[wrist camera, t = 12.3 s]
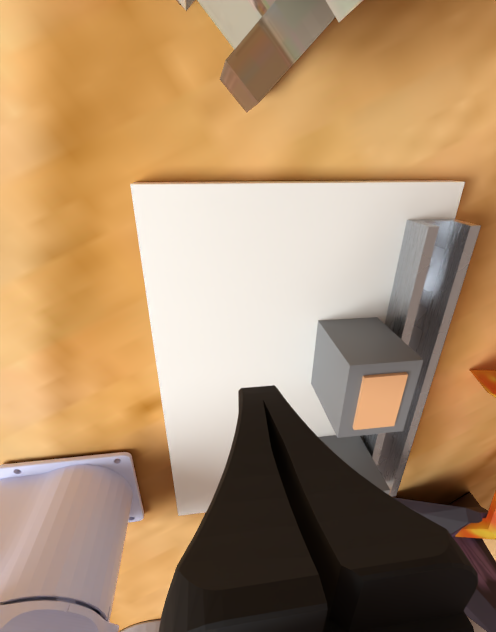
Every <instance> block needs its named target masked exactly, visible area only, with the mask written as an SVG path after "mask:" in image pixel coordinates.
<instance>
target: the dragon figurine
mask: <svg viewBox="0 0 496 632" xmlns="http://www.w3.org/2000/svg"><path fill="white" fill-rule="evenodd" d="M470 371H471V372H472V374H473V375H474V376H475V377H476V379H477V380H478V381H479V382H480V384H481V385H482V386H483V387H484V388H485V390H486V391H487V392H488V393H490V394H491V395H492V396H494V397H495V398H496V370H470ZM393 498H394V497H393ZM394 499H396V500H397V501H399V502H401V503H402V504H404V505H405V506H407V507H409V508H410V509H412V510H414V511H415V512H417V513H419V514H421V515H422V516H424V517H426V518H428V519H429V520H431V521H433V522H435V523H437V524H438V525H440V526H442V527H444V528H445V529H447V530H448V532H449V533H450V535H451V536H452V537H453V538H454V540H455V541H456V542H457V543H458V545H459V546H460V547H461V549H462V550H463V552H464V553H465V555H466V556H467V558H468V559H469V561H470V562H471V564H472V565H473V567H474V569H475V570H476V572H477V573H478V585H477V587H476V590H475V592H474V594H473V596H472V597H471V599H470V601H469V602H468V604H467V606H466V607H465V609H464V612H465V614H466V616H468V617H469V618H470V619H471V620H473V621H474V622H475V623H477V624H478V625H479V626H481V627H482V628H483V629H485V630H486V631H487V632H496V561H495V560H494V558H493V556H492V555H491V553H490V551H489V550H488V548H487V546H486V545H485V543H484V541H483V540H482V539H496V491H495V494H494V497H493V500H492V502H491V505H490V508H489V511H487V510H486V509H484V508H482V507H481V506H480V505H479V503H478V502H477V501H476V499H475V498H474V497H473V495H472V494H471V493H470V492H469V493H467V494H465V495H464V496H462V497H460V498H459V499H457V500H456V501H454V502H452V503H451V504H449V505H443V504H436V503H429V502H422V501H415V500H408V499H401V498H394Z"/></svg>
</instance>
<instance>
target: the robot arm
mask: <svg viewBox="0 0 496 632" xmlns="http://www.w3.org/2000/svg"><path fill="white" fill-rule="evenodd" d="M238 406H239V413H238V420H237V425H236V430H235V435H234V439H233V442H232V446H231V450H230V453H229V456H228V460H227V463H226V466H225V468H224V471H223V474H222V477H221V479H220V482H219V484H218V487H217V489H216V492H215V494H214V496H213V499H212V501H211V503H210V505H209V507H208V509H207V511H206V513H205V516H204V518H203V520H202V522H201V524H200V526H199V528H198V530H197V532H196V533H195V535H194V537H193V539H192V541H191V543H190V544H189V546H188V548H187V549H186V551H185V553H184V555H183V556H182V558H181V560H180V562H179V563H178V565H177V567H176V570H175V573H174V576H173V579H172V582H171V585H170V588H169V591H168V595H167V598H166V601H165V605H164V608H163V612H162V616H161V621H160V627H159V632H474V629H473V626H472V625H471V623H470V621H469V619H468V618H467V616H466V614H465V612H464V609H465V607H466V606H467V604H468V602H469V601H470V599H471V597H472V596H473V594H474V592H475V590H476V587H477V585H478V573H477V572H476V570H475V569H474V567H473V565H472V564H471V562H470V561H469V559H468V558H467V556H466V555H465V553H464V552H463V550H462V549H461V547H460V546H459V545H458V543H457V542H456V541H455V540H454V538H453V537H452V536H451V535H450V533H449V532H448V530H447V529H445V528H444V527H442V526H440V525H438V524H437V523H435V522H433V521H431V520H429V519H428V518H426V517H424V516H422V515H421V514H419V513H417V512H415V511H414V510H412V509H410V508H409V507H407V506H405V505H404V504H402V503H401V502H399V501H397V500H396V499H394V498H393V497H391V496H390V495H388V494H387V493H385V492H384V491H382V490H381V489H380V488H378V487H377V486H375V485H374V484H373V483H371V482H370V481H369V480H367V479H366V478H364V477H363V476H362V475H360V474H359V473H358V472H356V471H355V470H354V469H353V468H352V467H350V466H349V465H348V464H347V463H346V462H344V461H343V460H342V459H341V458H340V457H339V456H337V455H336V454H335V453H334V452H333V451H332V450H331V449H330V448H329V447H328V446H327V445H326V444H325V443H324V442H323V441H322V440H321V439H320V438H319V437H318V436H317V435H316V434H315V433H314V432H313V431H312V430H311V429H310V428H309V427H308V426H307V424H306V423H305V422H304V421H303V420H302V419H301V418H300V417H299V415H298V414H297V413H296V412H295V411H294V409H293V408H292V407H291V406H290V404H289V403H288V402H287V401H286V399H285V398H284V397H283V395H282V394H281V393H280V391H279V390H278V388H277V387H276V386H275V385H272V386H260V387H248V388H241V389H240V390H239V391H238ZM143 518H144V510H143V505H142V501H141V496H140V492H139V487H138V482H137V478H136V473H135V469H134V464H133V460H132V456H131V454H130V453H128V452H118V453H109V454H99V455H89V456H80V457H70V458H60V459H51V460H41V461H31V462H21V463H12V464H3V465H0V632H118V630H119V625H117V624H112V623H110V622H109V620H110V615H111V610H112V605H113V599H114V594H115V589H116V583H117V578H118V573H119V567H120V562H121V557H122V552H123V546H124V541H125V536H126V530H127V525H128V522H135V521H140V520H142V519H143Z"/></svg>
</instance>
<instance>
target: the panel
mask: <svg viewBox="0 0 496 632" xmlns="http://www.w3.org/2000/svg"><path fill="white" fill-rule="evenodd" d="M464 184H465V182H462V181H454V180H398V181H251V182H134V183H132V184H130V185H131V192H132V199H133V206H134V213H135V219H136V226H137V233H138V240H139V247H140V254H141V261H142V268H143V275H144V282H145V289H146V295H147V302H148V309H149V316H150V323H151V330H152V337H153V344H154V351H155V358H156V365H157V371H158V378H159V385H160V392H161V399H162V406H163V413H164V420H165V427H166V434H167V440H168V447H169V454H170V461H171V468H172V475H173V482H174V489H175V496H176V503H177V510H178V516H180V515H188V514H196V513H204V512H206V511H207V509H208V507H209V505H210V503H211V501H212V499H213V496H214V494H215V492H216V489H217V487H218V484H219V482H220V479H221V477H222V474H223V471H224V468H225V466H226V463H227V460H228V456H229V453H230V450H231V446H232V442H233V439H234V435H235V430H236V425H237V420H238V413H239V406H238V391H239V390H240V389H241V388H248V387H260V386H272V385H275V386H276V387H277V388H278V390H279V391H280V393H281V394H282V395H283V397H284V398H285V399H286V401H287V402H288V403H289V404H290V406H291V407H292V408H293V409H294V411H295V412H296V413H297V414H298V415H299V417H300V418H301V419H302V420H303V421H304V422H305V423H306V424H307V426H308V427H309V428H310V429H311V430H312V431H313V432H314V433H315V434H316V435H317V436H318V437H322V436H331V435H336V434H335V432H334V430H333V428H332V426H331V424H330V422H329V419H328V417H327V415H326V413H325V411H324V409H323V407H322V405H321V403H320V401H319V399H318V397H317V395H316V393H315V391H314V389H313V387H312V385H311V379H312V370H313V361H314V352H315V343H316V334H317V325H318V321H319V320H336V319H353V318H369V317H378V318H379V319H380V320H381V321H382V322H383V323H384V324H385V320H386V316H387V311H388V306H389V302H390V297H391V292H392V288H393V283H394V278H395V273H396V269H397V264H398V259H399V255H400V250H401V245H402V241H403V236H404V231H405V227H406V222H407V220H420V219H455V217H456V213H457V209H458V206H459V202H460V199H461V195H462V191H463V188H464ZM360 437H361V436H360Z"/></svg>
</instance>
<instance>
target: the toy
mask: <svg viewBox="0 0 496 632" xmlns="http://www.w3.org/2000/svg"><path fill="white" fill-rule="evenodd" d="M197 1H198V2H199V3H200V5H201V6H202V7H203V9H204V10H205V11H206V13H207V14H208V15H209V17H210V18H211V19H212V21H213V22H214V23H215V25H216V26H217V27H218V29H219V30H220V31H221V33H222V34H223V35H224V37H225V38H226V39H227V41H228V42H229V43H230V44H231V46H232V47H233V48H234V51H233V52H232V53H231V54H230V56H229V57H228V58H227V59H226V61H225V64H224V67H223V71H222V74H221V77H220V80H221V81H222V83H223V84H224V85H225V86H226V88H227V89H228V90H229V91H230V93H231V94H232V95H233V96H234V98H235V99H236V100H237V101H238V102H239V104H240V105H241V106H242V107H243V109H244V110H245V111H246V112H248V111H249V110H251V109H252V108H253V107H254V106H256V105H257V104H258V103H259V102H260V101H261V100H262V99H263V98H264V97H265V95H266V94H267V93H268V92H269V91H270V90H271V89H272V88H273V86H274V85H275V84H276V83H277V82H278V81H279V80H280V79H281V78H282V76H283V75H284V74H285V73H286V72H287V71H288V70H289V69H290V67H291V66H292V65H293V64H294V63H295V62H296V61H297V60H298V59H299V57H300V56H301V55H302V54H303V53H304V52H305V51H306V50H307V48H308V47H309V46H310V45H311V44H312V43H313V42H314V41H315V40H316V38H317V37H318V36H319V35H320V34H321V33H322V32H323V31H324V29H325V28H326V27H327V26H328V25H329V24H330V23H331V22H332V20H333V19H334V18H335V17H336V19H337V20H338V22H340V21H341V20H342V19H343V18H344V17H346V16H347V15H348V14H349V13H350V12H351V11H352V10H353V9H354V8H355V7H356V6H358V5H359V4H360V3H361V2H362V1H363V0H197ZM177 2H178V3H179V4H180V5H182V6H183V8H184V9H185V10H186V11H187V9H188V8H189V7H190V6H191V4H192V3H193V2H194V0H177Z"/></svg>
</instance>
